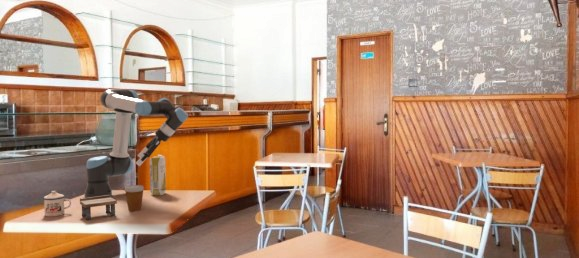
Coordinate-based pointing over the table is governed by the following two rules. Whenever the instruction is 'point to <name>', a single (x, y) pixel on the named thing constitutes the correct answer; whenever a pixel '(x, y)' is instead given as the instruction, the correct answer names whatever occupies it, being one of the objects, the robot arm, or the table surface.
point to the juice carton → (157, 175)
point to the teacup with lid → (54, 204)
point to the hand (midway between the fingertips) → (138, 160)
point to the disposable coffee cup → (134, 197)
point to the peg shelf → (97, 204)
